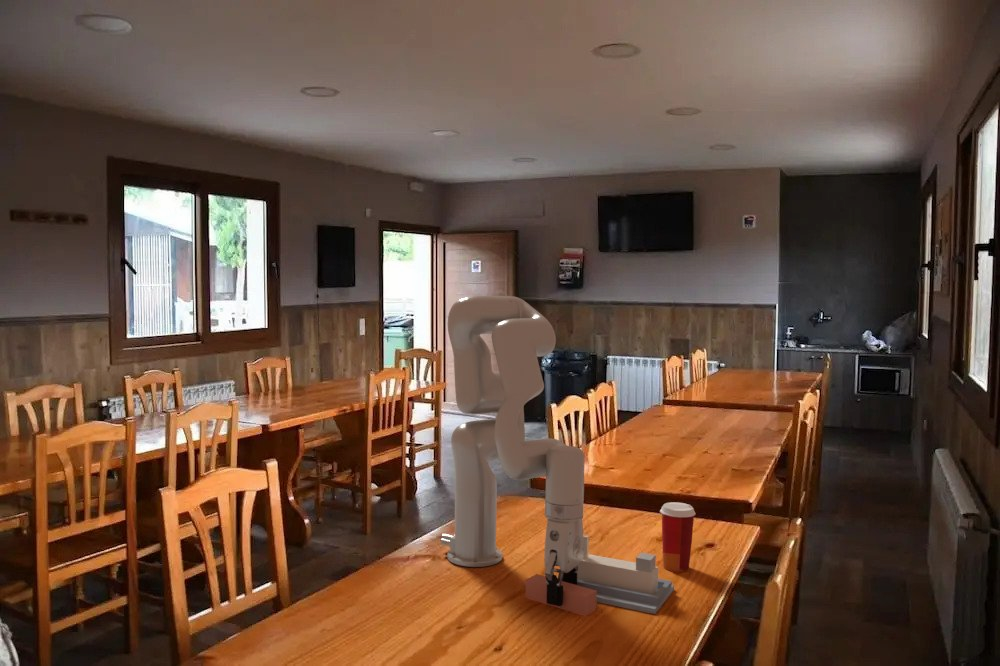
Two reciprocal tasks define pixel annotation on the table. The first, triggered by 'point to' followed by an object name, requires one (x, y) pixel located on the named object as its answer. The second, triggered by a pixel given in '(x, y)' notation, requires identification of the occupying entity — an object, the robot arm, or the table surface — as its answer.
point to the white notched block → (619, 571)
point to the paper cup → (677, 535)
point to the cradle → (631, 595)
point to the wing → (573, 595)
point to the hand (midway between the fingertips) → (561, 596)
